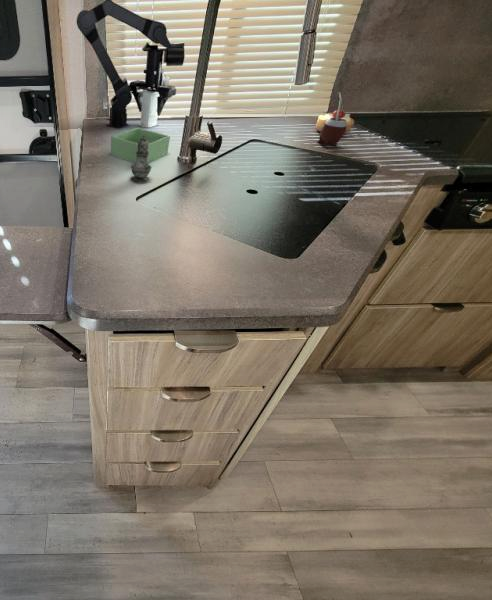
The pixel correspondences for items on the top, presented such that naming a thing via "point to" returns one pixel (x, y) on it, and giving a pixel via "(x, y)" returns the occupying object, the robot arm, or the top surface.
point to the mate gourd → (333, 129)
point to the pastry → (325, 117)
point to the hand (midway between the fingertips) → (149, 113)
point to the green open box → (128, 144)
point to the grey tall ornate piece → (141, 163)
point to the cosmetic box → (149, 109)
